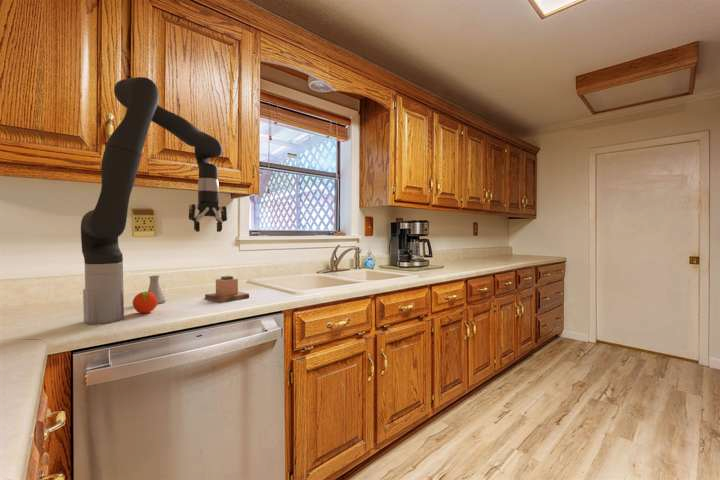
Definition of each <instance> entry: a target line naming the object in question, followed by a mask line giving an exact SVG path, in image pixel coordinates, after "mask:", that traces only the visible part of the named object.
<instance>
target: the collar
mask: <svg viewBox="0 0 720 480" xmlns="http://www.w3.org/2000/svg"><path fill="white" fill-rule="evenodd" d="M238 279H239V278H234V277H233V279H231V280H221V278H216V279H215V293H216V295H220V296H229V295H235V294H238V292H239V282H238V281H239V280H238Z"/></svg>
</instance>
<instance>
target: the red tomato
mask: <svg viewBox="0 0 720 480" xmlns="http://www.w3.org/2000/svg"><path fill="white" fill-rule="evenodd" d="M157 302H158V301H157V297H156V296H155V295H154V294H153V293H151V292H148V291H142V292H139V293H138V294H136V295H135V296H134V297H133V300H132V307H133V309H134V310H135V311H136V312H138V313H141V314H147V313H150V312H152V311H154V310H155V308H156V307H157V305H158V304H157Z"/></svg>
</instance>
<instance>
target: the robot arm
mask: <svg viewBox="0 0 720 480" xmlns="http://www.w3.org/2000/svg"><path fill="white" fill-rule="evenodd" d="M113 92H114V95H115V98H116V100H117V101H118V103H120V104H121V105H122V106H123V107H124V108H127V109H126V113H125V114H124V117H123V118H122V120H121V121H120V123H119V124H118V125H117V127H116V128H115V129H114V130H113V132H112V133H111V134H110V136H109V138H107V142H106V144H105V147H104V150H103V154H102V158H101V164H100V175H101V177H100V178H101V188H100V193H99V196H98V198H97V199H98V200H97V202H96V204H95V206H94V207H95V208H94V209H92V210H89V211H88V212H86V213H84V215H83V217H82V218H81V221H80V242H81V244H80V245H81V252H82V256H83V259H84V261H83V262H84V289H82V295H83V296H82V297H83V298H82V299H83V300H82V301H83V322H84V323H86V324H88V325H98V324H99V325H100V324H109V323H114V322H119V321H120V320H123V319H124V318H125V309H124V308H125V307H124V306H125V304H124V303H125V301H124V300H125V299H124V298H125V297H124V294H125V293H124V259H123V258H124V257H123V252H122V250H121V248H120V245H119V237H120V236H121V235H122V234H123V233H124V231H125V229H126V226H127V220H128V219H127V217H128V210H129V204H130V203H129V202H130V197H131V194H132V191H133V187H134V184H135V182H136V176H137V173H138V170H139V167H140V163H141V158H142V156H143V151H144V146H145V143H146V139H147V135H148V132H149V128H150V125H151V123H152V122H153V123H154V124H157V125H158V126H159V127H161V128H163V129H164V130H167V132H168V133H171V134H172V135H173V136H175V137H176V138H177V139H179V140H180V141H182V142H183V143H184V144H186V145H187V146H190V147H195V153H194V156H195V160H196V163H197V167H198V183H197V204H194V203H192V204H189V205H188V206H189V208H188V220H190V221H193V230H194V231H195V232H198V233H199V232H200V231H201V230H200V229H201V226H200V225H201V223H200V221H201V219H203V217H213V219H215V221H216V233H220V232H221V231H222V230H223V222H227V220H228V211H227V206H226V205H225V206H224V205H223V206H220V205H219V201H220V200H219V199H220V198H219V197H220V195H219V194H220V193H219V192H220V191H219V189H220V185H219V168H218V166H217V165H216V164H214V163H211V161H210V162H209V161H208V158H209V159H214V158H215V159H216V158H219V157H220V156H221V155H222V154H223V151H224V150H223V146H222V144H221V142H220V141H219V140H218V139H217V138H216V137H213V136H211V135H210V134H207V133H206V132H203V131H202V130H200V129H199V128H197V127H196V126H195V125H194V124H193V123H191V122H190V121H189V120H187V119H185V118H183V117H182V116H180V115H178V114H176V113H174V112H171V111H170V110H168V109H165V108H164V107H162V106H161V105H159V101H160V93H159V89H158V87H157V85H156V83H155V82H154V81H153V80H152V79H150V78H148V77H143V76H139V77H137V76H136V77H130V78H124V79H123V78H122V79H120V80H118V81H117V82H116V83H115V84H114V89H113ZM197 210H198V213H197V214H196V211H197ZM219 212H220V213H219Z"/></svg>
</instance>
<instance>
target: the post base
mask: <svg viewBox="0 0 720 480" xmlns="http://www.w3.org/2000/svg"><path fill="white" fill-rule="evenodd" d="M233 278H234V276H232V275H223V276H220V279H221V280H231V279H233ZM249 298H250V293H247V292H242V291H238V294H235V295H229V296H220V295H216V292H214V293H213V292H212V293H207V294H206V293H205V294H204V299H207V300H211V301H214V302H217V303H225V302H231V301H237V300H244V299H249Z"/></svg>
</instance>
